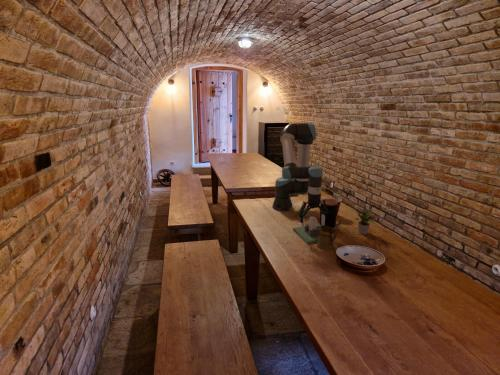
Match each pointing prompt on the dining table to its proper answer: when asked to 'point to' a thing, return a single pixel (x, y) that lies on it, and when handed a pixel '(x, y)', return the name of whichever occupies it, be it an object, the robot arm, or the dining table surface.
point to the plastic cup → (337, 203)
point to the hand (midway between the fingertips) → (312, 226)
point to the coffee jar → (332, 214)
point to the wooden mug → (327, 237)
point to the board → (308, 233)
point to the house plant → (364, 221)
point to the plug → (312, 223)
